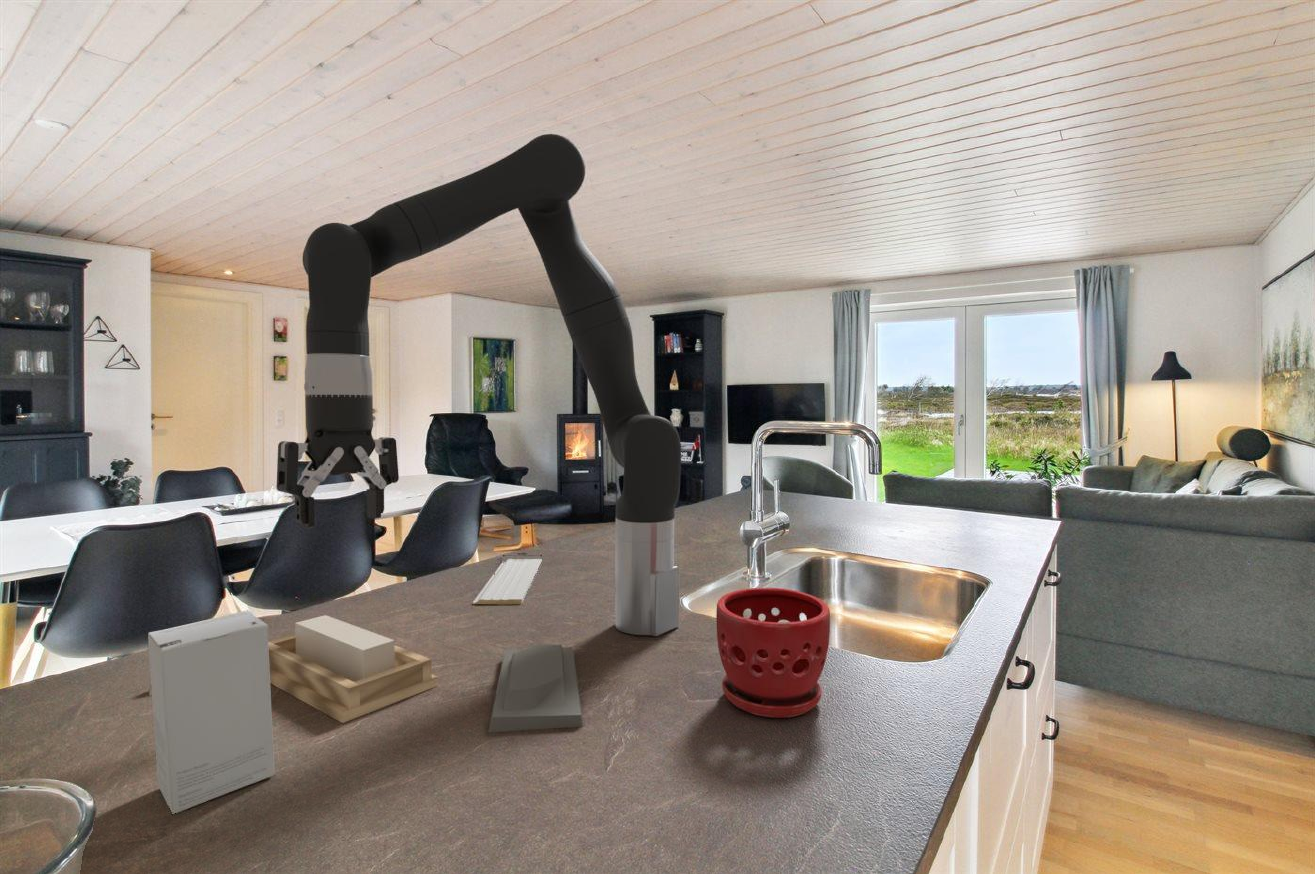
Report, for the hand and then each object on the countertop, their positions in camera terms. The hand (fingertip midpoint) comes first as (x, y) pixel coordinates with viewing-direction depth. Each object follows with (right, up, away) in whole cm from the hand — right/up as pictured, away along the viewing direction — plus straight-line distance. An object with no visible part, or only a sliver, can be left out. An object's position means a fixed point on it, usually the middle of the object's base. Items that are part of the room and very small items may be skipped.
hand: (342, 522), depth 82 cm
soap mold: (+25, -21, -2) cm, 33 cm away
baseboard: (+10, -19, +48) cm, 52 cm away
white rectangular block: (0, -19, +1) cm, 19 cm away
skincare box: (-1, -21, -22) cm, 31 cm away
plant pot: (+53, -21, -5) cm, 57 cm away
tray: (0, -20, +1) cm, 20 cm away
